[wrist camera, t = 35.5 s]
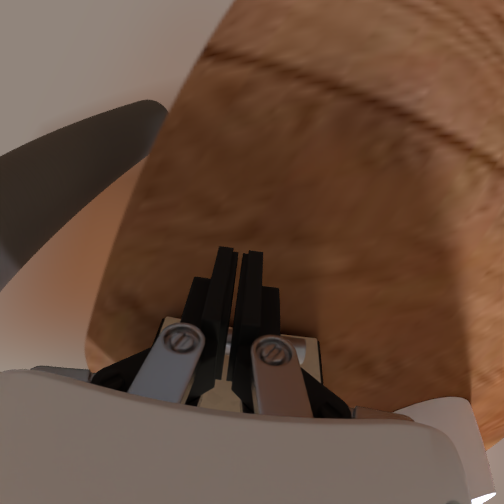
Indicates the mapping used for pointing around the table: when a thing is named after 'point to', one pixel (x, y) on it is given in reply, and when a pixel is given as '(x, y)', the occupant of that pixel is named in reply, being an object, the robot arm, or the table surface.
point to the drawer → (222, 393)
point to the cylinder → (459, 439)
